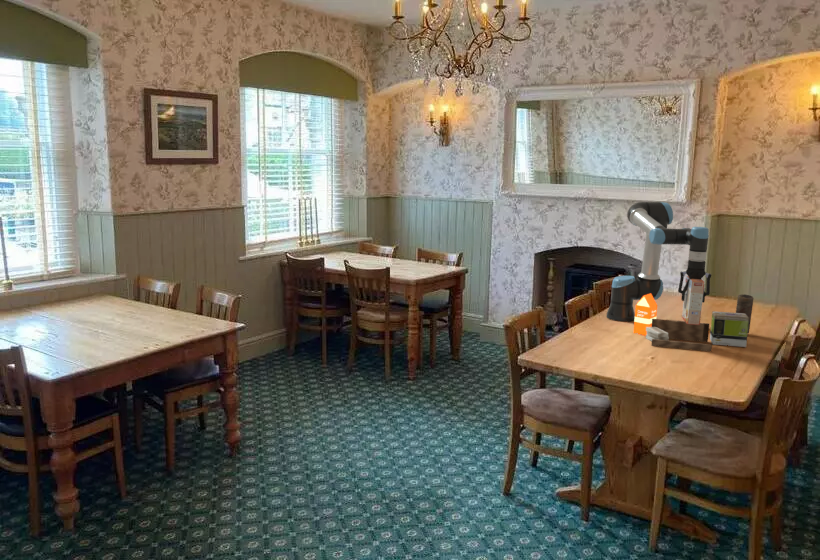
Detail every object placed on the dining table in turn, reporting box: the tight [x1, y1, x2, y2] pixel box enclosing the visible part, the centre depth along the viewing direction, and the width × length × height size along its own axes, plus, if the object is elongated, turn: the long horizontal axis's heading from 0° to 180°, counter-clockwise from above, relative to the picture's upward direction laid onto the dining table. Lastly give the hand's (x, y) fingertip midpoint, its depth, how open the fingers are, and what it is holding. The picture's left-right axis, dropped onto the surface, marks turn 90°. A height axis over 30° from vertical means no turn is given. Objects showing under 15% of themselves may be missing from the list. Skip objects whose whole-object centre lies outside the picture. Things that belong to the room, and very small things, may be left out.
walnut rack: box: [651, 318, 713, 352], centre depth 321 cm, size 26×19×9 cm
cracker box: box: [681, 275, 706, 325], centre depth 317 cm, size 14×6×21 cm, turn 168°
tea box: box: [709, 310, 749, 348], centre depth 322 cm, size 15×10×15 cm
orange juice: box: [633, 293, 658, 336], centre depth 339 cm, size 8×9×20 cm
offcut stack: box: [645, 327, 670, 343], centre depth 324 cm, size 6×12×6 cm, turn 8°
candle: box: [735, 294, 755, 334], centre depth 340 cm, size 8×7×20 cm
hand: (692, 308), depth 318 cm, fingers closed on cracker box, 6 cm apart
